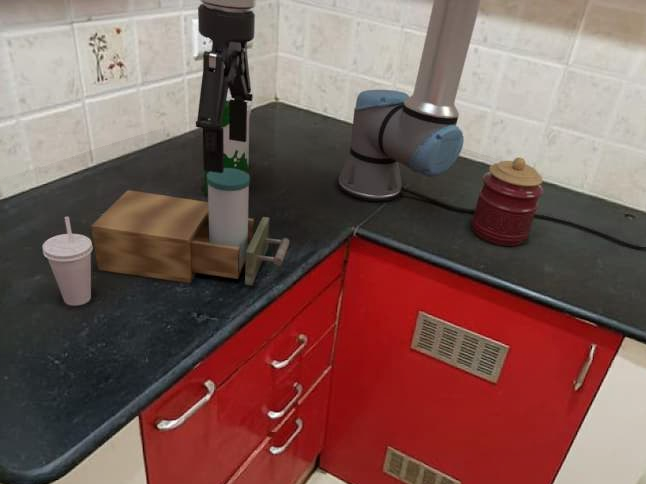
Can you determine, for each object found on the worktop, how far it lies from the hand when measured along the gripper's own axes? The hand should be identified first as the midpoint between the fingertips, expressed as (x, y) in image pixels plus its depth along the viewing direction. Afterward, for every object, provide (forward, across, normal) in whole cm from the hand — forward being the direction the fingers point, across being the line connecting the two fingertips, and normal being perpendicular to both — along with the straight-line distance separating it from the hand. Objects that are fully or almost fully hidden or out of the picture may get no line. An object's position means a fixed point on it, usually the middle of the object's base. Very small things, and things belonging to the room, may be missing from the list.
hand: (226, 154), depth 87 cm
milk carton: (+21, -29, -8) cm, 36 cm away
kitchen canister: (+20, -29, +53) cm, 64 cm away
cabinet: (+21, 0, -12) cm, 24 cm away
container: (+18, 0, 0) cm, 19 cm away
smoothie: (+21, +15, -19) cm, 32 cm away
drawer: (+20, 0, +1) cm, 20 cm away
